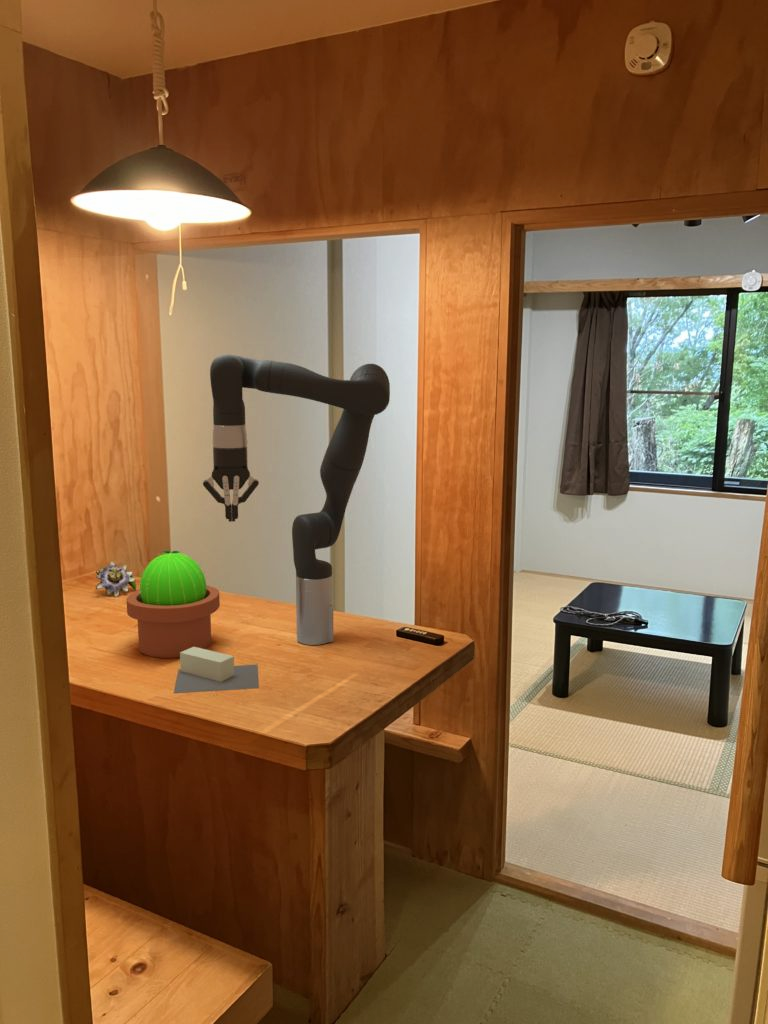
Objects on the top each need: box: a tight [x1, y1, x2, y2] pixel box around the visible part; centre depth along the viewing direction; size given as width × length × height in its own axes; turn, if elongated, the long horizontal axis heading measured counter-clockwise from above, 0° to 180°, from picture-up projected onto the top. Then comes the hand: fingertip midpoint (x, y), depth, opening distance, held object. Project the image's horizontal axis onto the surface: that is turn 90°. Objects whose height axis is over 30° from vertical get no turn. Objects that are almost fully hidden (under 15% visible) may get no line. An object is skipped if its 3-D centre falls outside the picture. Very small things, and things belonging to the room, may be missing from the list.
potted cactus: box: [126, 550, 221, 659], centre depth 198 cm, size 22×22×25 cm
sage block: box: [179, 647, 235, 682], centre depth 180 cm, size 4×4×12 cm
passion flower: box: [95, 561, 137, 598], centre depth 247 cm, size 11×11×12 cm
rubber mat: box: [173, 663, 260, 694], centre depth 178 cm, size 18×14×1 cm
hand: (232, 520), depth 181 cm, fingers closed
